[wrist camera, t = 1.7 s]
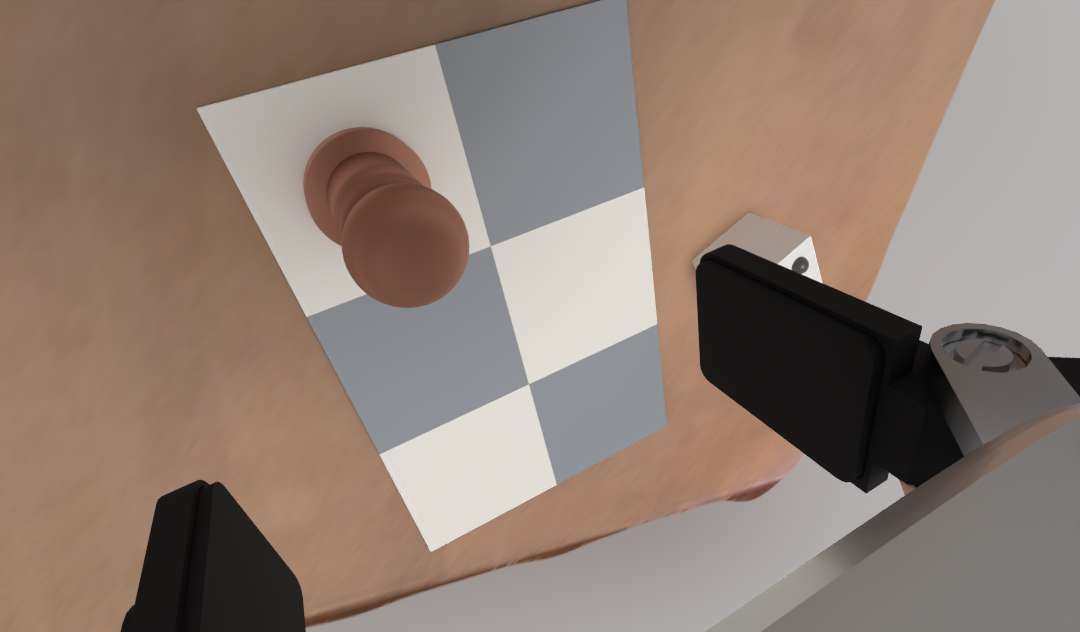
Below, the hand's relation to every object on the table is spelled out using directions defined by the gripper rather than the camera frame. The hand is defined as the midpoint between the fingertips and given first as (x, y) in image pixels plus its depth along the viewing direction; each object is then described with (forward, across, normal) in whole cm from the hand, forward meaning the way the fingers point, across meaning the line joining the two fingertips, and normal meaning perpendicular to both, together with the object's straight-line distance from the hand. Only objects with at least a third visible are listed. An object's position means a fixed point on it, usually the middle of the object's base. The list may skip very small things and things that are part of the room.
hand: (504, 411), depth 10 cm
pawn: (+17, 0, 0) cm, 17 cm away
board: (+18, -5, +9) cm, 20 cm away
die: (+18, -21, +12) cm, 30 cm away
